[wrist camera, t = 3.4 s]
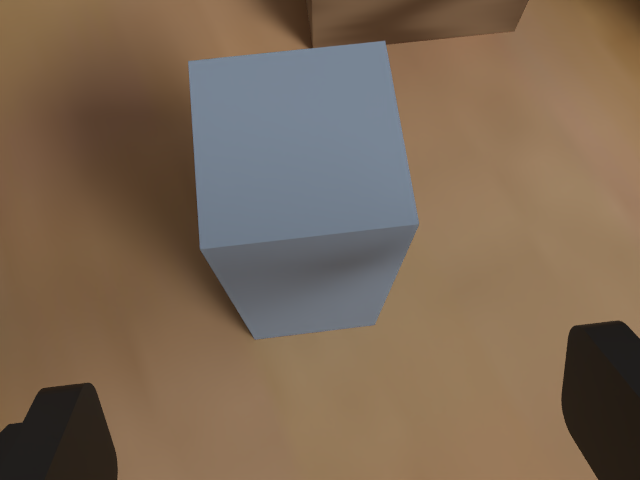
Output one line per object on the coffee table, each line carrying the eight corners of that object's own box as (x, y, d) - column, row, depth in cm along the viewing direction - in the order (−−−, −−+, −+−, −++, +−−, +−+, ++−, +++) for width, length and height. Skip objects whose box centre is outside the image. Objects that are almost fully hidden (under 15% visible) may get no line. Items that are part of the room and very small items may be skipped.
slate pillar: (254, 339, 23) (199, 249, 12) (245, 226, 24) (188, 61, 14) (374, 325, 23) (418, 224, 13) (357, 213, 24) (385, 40, 14)
